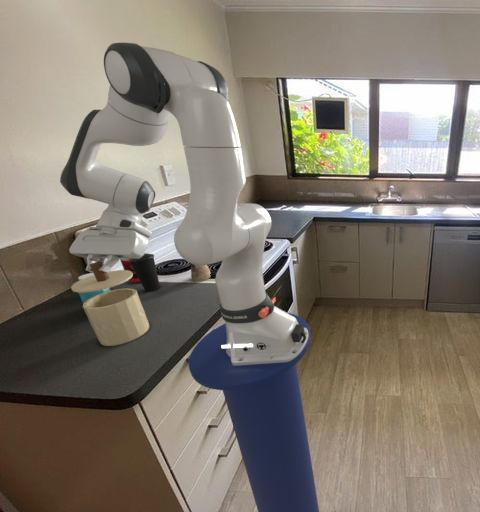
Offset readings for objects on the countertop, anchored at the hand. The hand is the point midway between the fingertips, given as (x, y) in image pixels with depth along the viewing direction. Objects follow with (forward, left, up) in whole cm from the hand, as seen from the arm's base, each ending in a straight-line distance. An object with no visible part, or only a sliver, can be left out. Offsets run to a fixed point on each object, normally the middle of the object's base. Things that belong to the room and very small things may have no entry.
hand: (97, 271), depth 79 cm
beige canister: (0, -1, -21) cm, 21 cm away
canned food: (+28, -35, -21) cm, 50 cm away
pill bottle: (+20, -12, -21) cm, 32 cm away
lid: (0, -1, -3) cm, 3 cm away
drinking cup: (+16, -28, -21) cm, 39 cm away
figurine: (+3, -39, -21) cm, 44 cm away
